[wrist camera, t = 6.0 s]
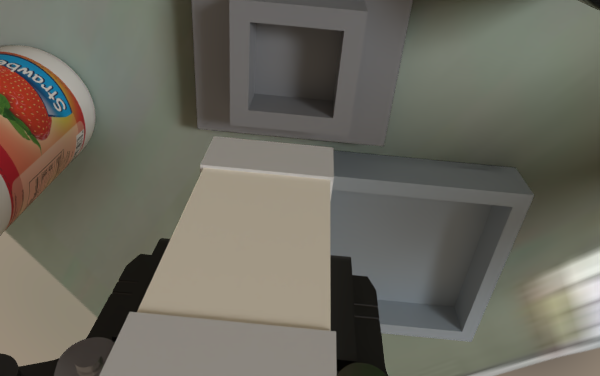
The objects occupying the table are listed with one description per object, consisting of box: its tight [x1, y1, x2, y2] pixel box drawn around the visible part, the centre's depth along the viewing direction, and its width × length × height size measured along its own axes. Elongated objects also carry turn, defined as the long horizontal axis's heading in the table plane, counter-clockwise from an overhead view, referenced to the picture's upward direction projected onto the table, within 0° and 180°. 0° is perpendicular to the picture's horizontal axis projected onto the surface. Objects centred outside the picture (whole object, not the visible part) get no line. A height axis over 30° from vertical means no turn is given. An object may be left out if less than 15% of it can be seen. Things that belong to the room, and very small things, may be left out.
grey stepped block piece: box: [191, 0, 413, 146], centre depth 31 cm, size 14×12×5 cm
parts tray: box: [330, 151, 534, 342], centre depth 40 cm, size 16×16×4 cm
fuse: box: [99, 136, 337, 376], centre depth 13 cm, size 4×4×10 cm
